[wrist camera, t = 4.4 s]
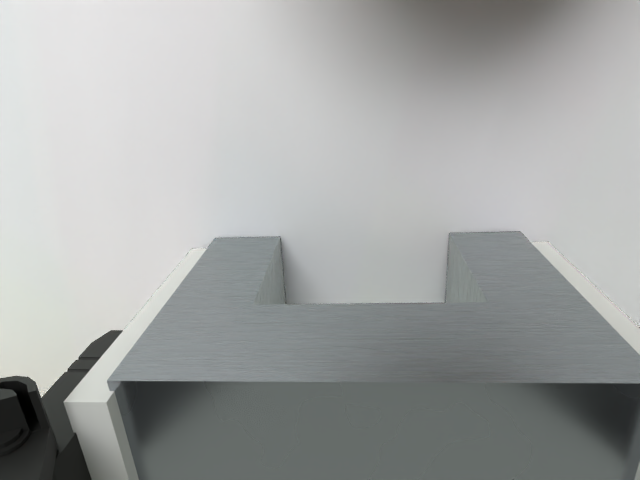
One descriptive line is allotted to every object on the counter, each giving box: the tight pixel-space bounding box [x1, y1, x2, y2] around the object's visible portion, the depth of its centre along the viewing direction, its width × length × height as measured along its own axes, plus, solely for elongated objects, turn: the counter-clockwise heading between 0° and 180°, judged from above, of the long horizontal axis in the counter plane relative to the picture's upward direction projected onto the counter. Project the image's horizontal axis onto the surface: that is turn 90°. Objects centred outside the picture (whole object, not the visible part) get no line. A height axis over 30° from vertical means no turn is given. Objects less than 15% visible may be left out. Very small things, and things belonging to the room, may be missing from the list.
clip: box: [107, 231, 640, 480], centre depth 11 cm, size 3×9×6 cm, turn 93°
